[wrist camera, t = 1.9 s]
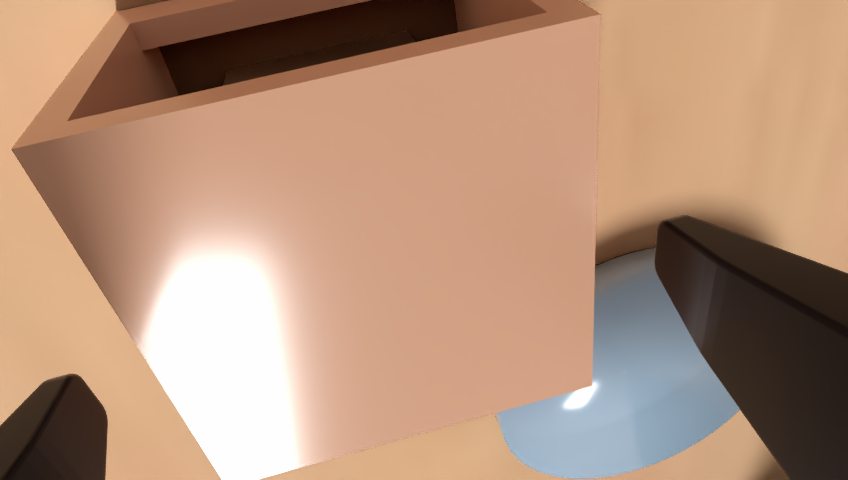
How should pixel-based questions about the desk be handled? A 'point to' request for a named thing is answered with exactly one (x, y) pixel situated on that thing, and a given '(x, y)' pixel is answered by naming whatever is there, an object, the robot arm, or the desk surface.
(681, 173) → the desk surface
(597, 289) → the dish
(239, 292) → the container
